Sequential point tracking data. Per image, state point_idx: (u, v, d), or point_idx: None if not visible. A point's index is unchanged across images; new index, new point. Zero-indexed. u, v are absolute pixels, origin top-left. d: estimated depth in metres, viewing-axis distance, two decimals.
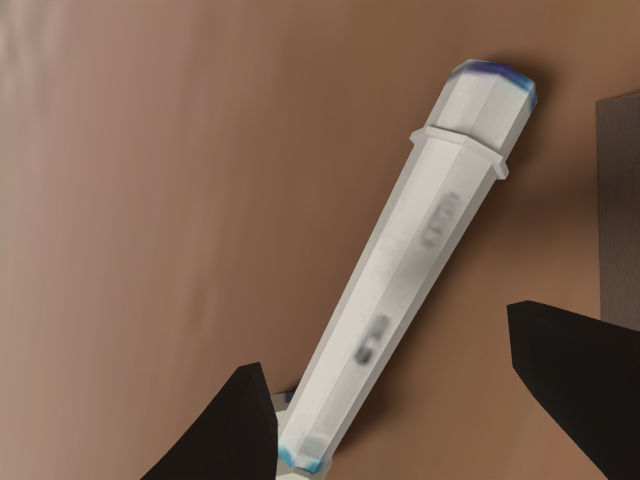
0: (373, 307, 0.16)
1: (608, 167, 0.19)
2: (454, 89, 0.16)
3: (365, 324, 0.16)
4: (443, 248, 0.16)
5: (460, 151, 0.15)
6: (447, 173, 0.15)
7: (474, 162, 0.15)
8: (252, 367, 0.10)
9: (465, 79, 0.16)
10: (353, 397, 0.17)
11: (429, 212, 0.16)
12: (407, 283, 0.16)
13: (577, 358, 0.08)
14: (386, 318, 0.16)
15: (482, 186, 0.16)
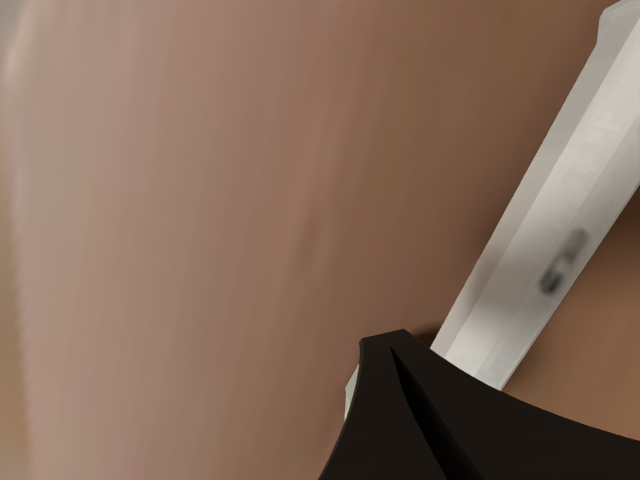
0: (570, 218, 0.13)
1: None
2: None
3: (556, 241, 0.13)
4: None
5: None
6: None
7: None
8: (380, 338, 0.10)
9: None
10: (531, 336, 0.13)
11: None
12: (616, 187, 0.13)
13: (415, 395, 0.08)
14: (584, 233, 0.13)
15: None
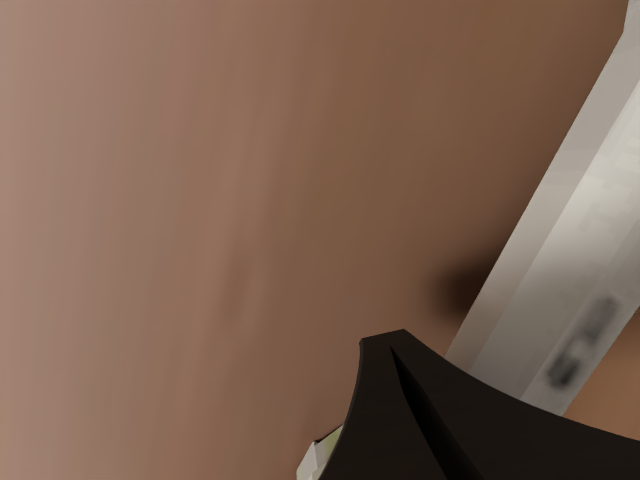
0: (592, 281, 0.09)
1: None
2: None
3: (572, 314, 0.09)
4: None
5: None
6: None
7: None
8: (380, 338, 0.10)
9: None
10: None
11: None
12: None
13: (415, 395, 0.08)
14: (613, 302, 0.09)
15: None
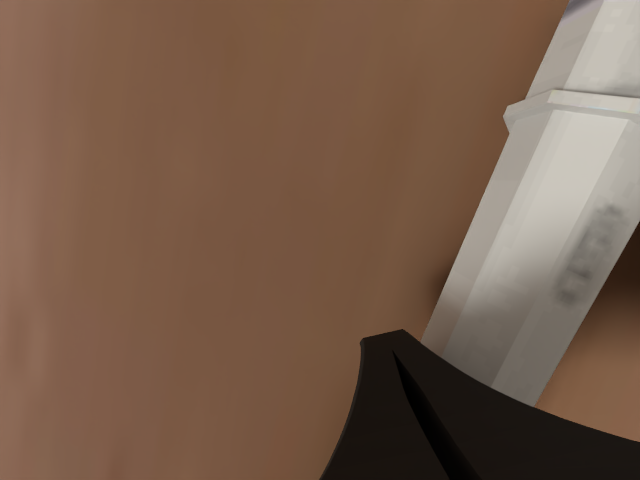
0: None
1: None
2: (596, 21, 0.09)
3: None
4: (592, 303, 0.09)
5: (625, 129, 0.08)
6: (602, 171, 0.08)
7: None
8: (381, 337, 0.10)
9: (618, 0, 0.09)
10: None
11: (570, 243, 0.09)
12: (531, 367, 0.09)
13: (413, 395, 0.08)
14: None
15: None
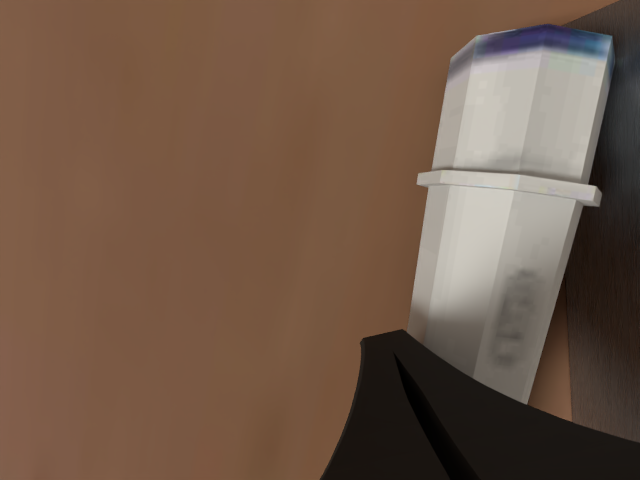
0: None
1: None
2: (467, 94, 0.09)
3: None
4: (533, 357, 0.09)
5: (514, 200, 0.09)
6: (503, 242, 0.09)
7: (544, 209, 0.09)
8: (381, 337, 0.10)
9: (481, 72, 0.09)
10: None
11: (492, 313, 0.09)
12: None
13: (413, 395, 0.08)
14: None
15: (568, 237, 0.09)
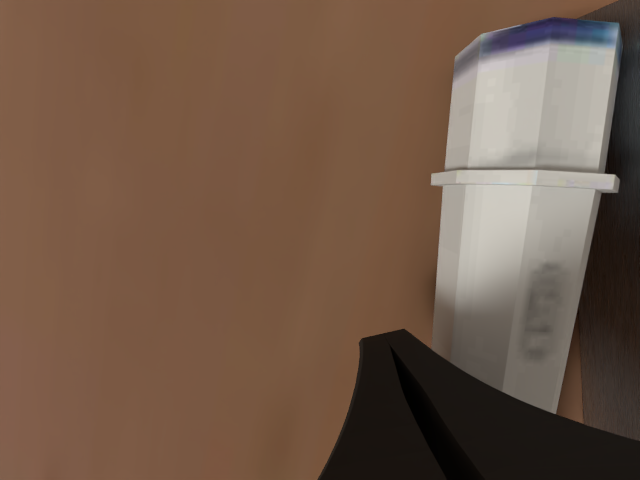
0: None
1: None
2: (476, 93, 0.09)
3: None
4: (564, 349, 0.09)
5: (533, 195, 0.09)
6: (525, 237, 0.09)
7: (564, 201, 0.09)
8: (380, 338, 0.10)
9: (489, 70, 0.09)
10: None
11: (519, 308, 0.09)
12: None
13: (415, 395, 0.08)
14: None
15: (590, 227, 0.09)
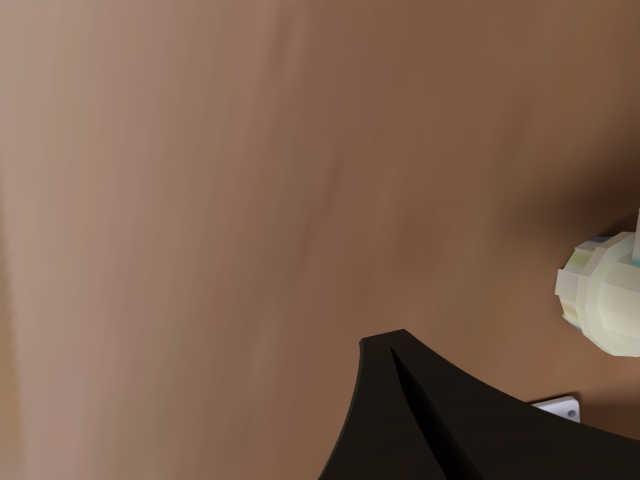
0: None
1: None
2: None
3: None
4: None
5: None
6: None
7: None
8: (380, 338, 0.10)
9: None
10: None
11: None
12: None
13: (415, 395, 0.08)
14: None
15: None
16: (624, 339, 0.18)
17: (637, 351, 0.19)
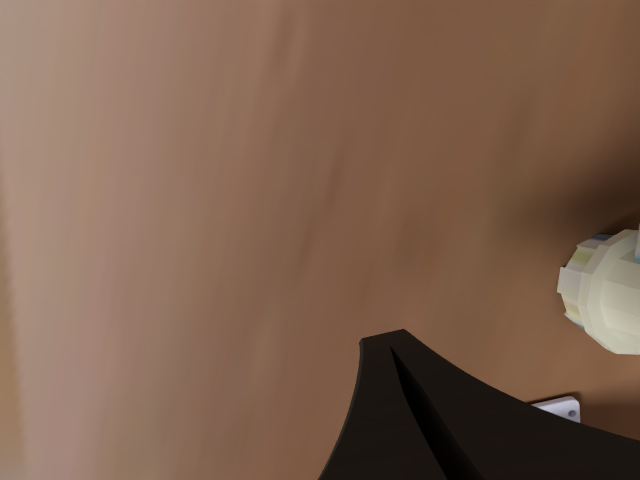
0: None
1: None
2: None
3: None
4: None
5: None
6: None
7: None
8: (380, 338, 0.10)
9: None
10: None
11: None
12: None
13: (415, 395, 0.08)
14: None
15: None
16: (626, 337, 0.18)
17: (639, 349, 0.19)
